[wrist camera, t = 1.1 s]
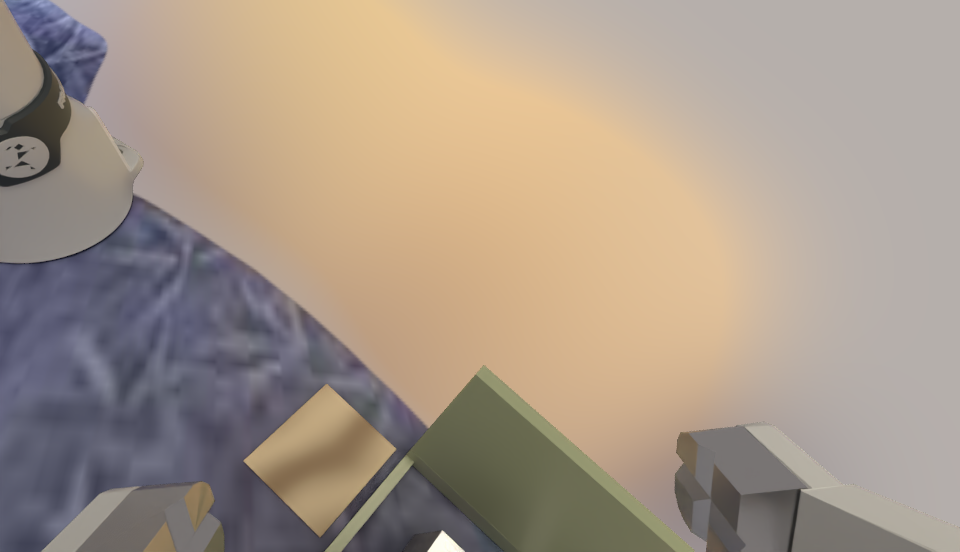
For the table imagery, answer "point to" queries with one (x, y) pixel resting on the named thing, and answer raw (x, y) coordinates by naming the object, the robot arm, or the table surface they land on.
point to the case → (522, 481)
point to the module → (432, 543)
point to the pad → (321, 458)
